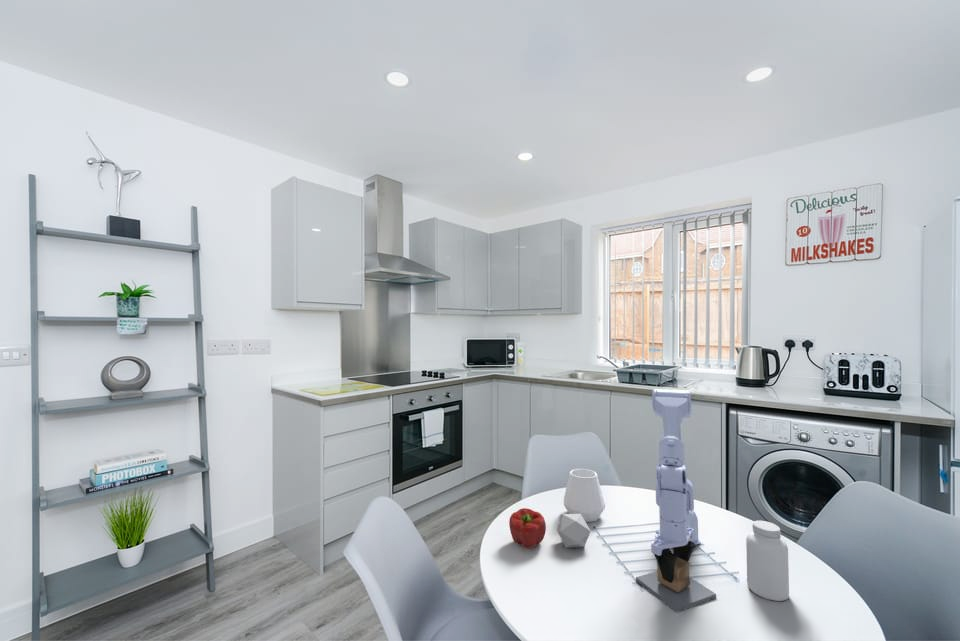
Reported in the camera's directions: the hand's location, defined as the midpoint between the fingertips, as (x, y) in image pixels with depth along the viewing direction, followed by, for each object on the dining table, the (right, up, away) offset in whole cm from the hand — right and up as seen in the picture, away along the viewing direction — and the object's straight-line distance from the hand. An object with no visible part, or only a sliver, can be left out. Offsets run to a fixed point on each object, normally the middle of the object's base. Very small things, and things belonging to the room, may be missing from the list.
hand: (674, 576), depth 95 cm
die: (-19, -4, +20) cm, 28 cm away
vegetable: (-32, -4, +20) cm, 38 cm away
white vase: (-11, -5, +38) cm, 40 cm away
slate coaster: (0, -3, 0) cm, 3 cm away
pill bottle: (+21, -3, -1) cm, 21 cm away
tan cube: (0, -2, 0) cm, 2 cm away
